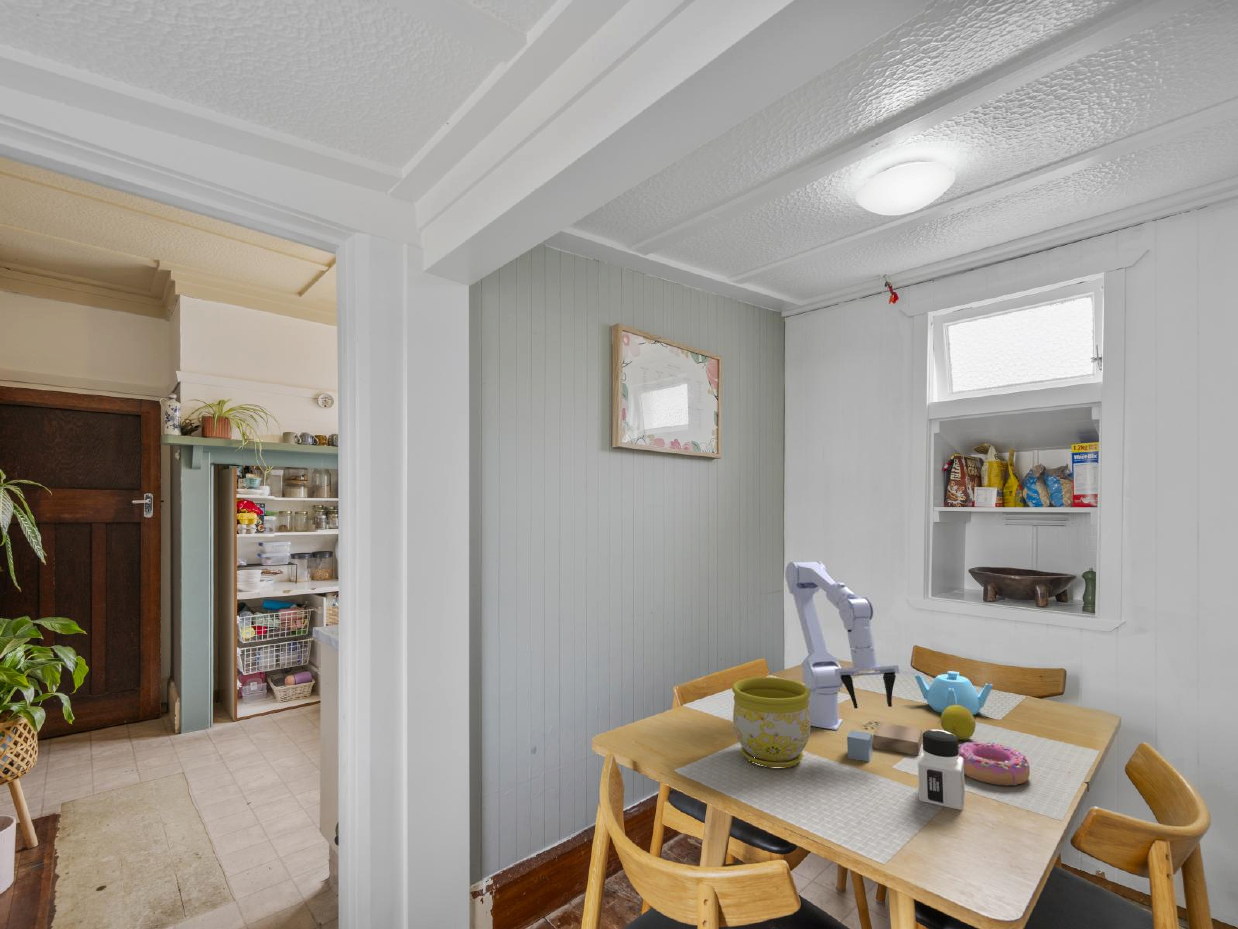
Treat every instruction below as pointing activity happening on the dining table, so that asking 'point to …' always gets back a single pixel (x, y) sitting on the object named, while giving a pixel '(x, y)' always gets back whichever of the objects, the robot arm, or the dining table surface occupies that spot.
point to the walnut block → (897, 738)
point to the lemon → (958, 722)
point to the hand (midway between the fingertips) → (872, 707)
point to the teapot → (953, 692)
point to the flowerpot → (771, 720)
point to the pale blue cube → (859, 745)
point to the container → (941, 770)
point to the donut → (994, 763)
